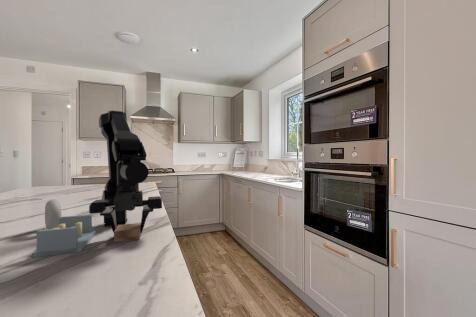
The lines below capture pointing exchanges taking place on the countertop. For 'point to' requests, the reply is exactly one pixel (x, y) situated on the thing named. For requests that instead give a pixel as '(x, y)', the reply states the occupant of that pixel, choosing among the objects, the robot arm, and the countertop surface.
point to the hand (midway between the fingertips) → (128, 233)
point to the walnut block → (127, 232)
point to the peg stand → (65, 236)
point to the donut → (52, 214)
